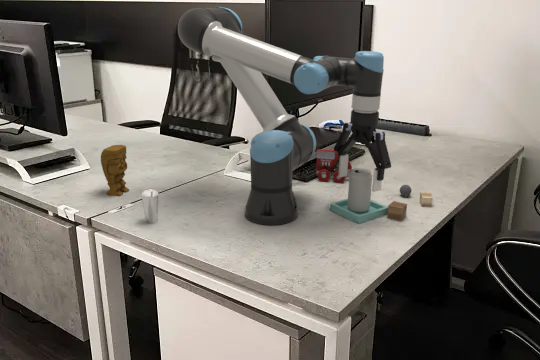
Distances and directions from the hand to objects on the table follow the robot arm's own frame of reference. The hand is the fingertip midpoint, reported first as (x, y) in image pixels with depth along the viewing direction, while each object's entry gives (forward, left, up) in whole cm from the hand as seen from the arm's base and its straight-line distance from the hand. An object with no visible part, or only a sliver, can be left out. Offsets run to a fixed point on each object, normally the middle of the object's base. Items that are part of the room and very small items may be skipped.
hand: (358, 183), depth 149 cm
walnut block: (+6, -9, -9) cm, 14 cm away
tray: (0, 0, -9) cm, 9 cm away
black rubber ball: (+21, +1, -7) cm, 22 cm away
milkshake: (-52, +28, -9) cm, 59 cm away
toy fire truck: (+13, +26, -9) cm, 30 cm away
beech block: (+21, -7, -9) cm, 24 cm away
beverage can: (0, 0, -8) cm, 8 cm away
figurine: (-52, +56, -9) cm, 76 cm away
